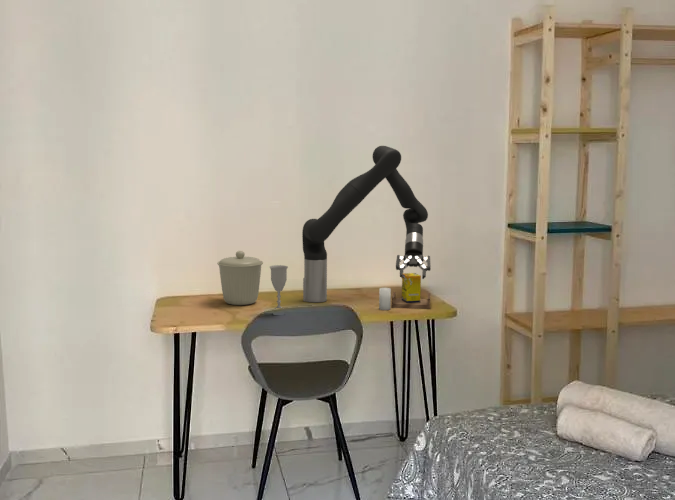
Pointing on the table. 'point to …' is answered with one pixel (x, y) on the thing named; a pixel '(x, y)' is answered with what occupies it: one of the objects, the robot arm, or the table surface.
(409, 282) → the supplement box
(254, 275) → the canister
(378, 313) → the table surface
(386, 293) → the white rounded capsule
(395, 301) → the wooden tray
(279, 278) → the chalice
